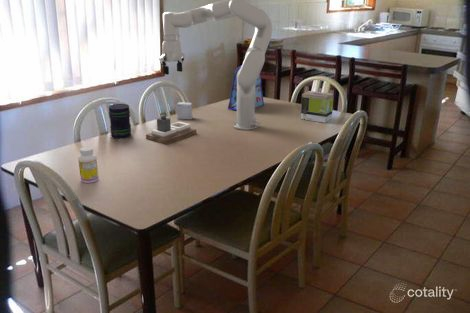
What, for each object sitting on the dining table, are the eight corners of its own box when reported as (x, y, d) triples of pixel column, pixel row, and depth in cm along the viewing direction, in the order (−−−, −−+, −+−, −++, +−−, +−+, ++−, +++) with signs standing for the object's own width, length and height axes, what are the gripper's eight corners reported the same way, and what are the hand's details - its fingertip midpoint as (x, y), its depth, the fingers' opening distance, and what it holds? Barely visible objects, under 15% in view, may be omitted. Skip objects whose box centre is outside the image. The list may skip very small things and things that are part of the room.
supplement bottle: (83, 176, 177) (79, 145, 172) (100, 176, 177) (97, 145, 173) (79, 183, 171) (75, 151, 166) (97, 183, 171) (93, 151, 166)
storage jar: (124, 131, 231) (122, 102, 226) (135, 135, 225) (133, 106, 219) (107, 135, 225) (104, 106, 219) (117, 140, 218) (115, 110, 213)
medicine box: (192, 117, 255) (192, 102, 252) (191, 119, 251) (190, 104, 248) (178, 117, 256) (178, 102, 253) (177, 119, 252) (176, 104, 249)
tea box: (332, 119, 254) (334, 93, 249) (325, 123, 246) (327, 97, 241) (307, 115, 262) (309, 90, 256) (300, 119, 254) (301, 93, 248)
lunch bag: (246, 113, 265) (247, 63, 255) (227, 109, 272) (227, 61, 262) (264, 105, 282) (266, 58, 272) (246, 102, 289) (246, 56, 279)
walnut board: (196, 133, 229) (196, 129, 228) (166, 144, 213) (166, 140, 212) (176, 128, 236) (176, 124, 236) (146, 138, 221) (145, 134, 220)
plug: (170, 132, 220) (170, 115, 217) (165, 134, 217) (164, 117, 214) (163, 130, 223) (162, 113, 220) (157, 132, 220) (156, 115, 217)
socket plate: (190, 128, 229) (190, 124, 228) (163, 138, 215) (163, 133, 214) (175, 125, 234) (175, 120, 234) (148, 134, 220) (148, 129, 219)
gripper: (178, 36, 232) (179, 69, 238) (153, 39, 219) (155, 74, 225) (189, 37, 228) (190, 71, 234) (164, 40, 215) (166, 76, 221)
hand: (173, 72), depth 230 cm, fingers open, 9 cm apart
